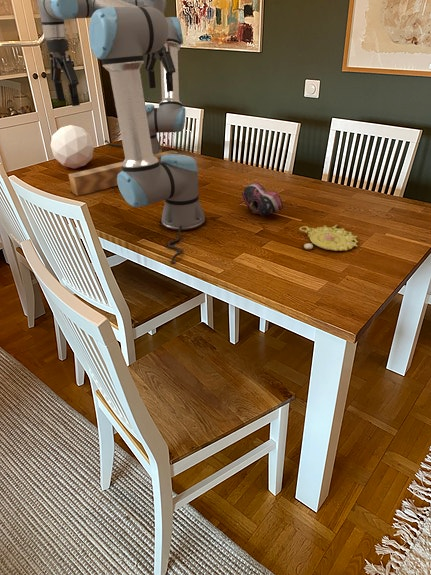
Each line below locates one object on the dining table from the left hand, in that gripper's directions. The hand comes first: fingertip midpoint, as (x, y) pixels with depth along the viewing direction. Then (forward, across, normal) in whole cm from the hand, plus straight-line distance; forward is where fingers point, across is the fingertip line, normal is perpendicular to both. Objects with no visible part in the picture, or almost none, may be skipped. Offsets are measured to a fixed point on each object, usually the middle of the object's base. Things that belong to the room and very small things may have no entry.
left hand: (161, 89), depth 188 cm
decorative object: (+35, -96, +2) cm, 102 cm away
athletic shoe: (+35, -64, +3) cm, 73 cm away
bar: (+35, 0, +21) cm, 40 cm away
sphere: (+35, +35, +30) cm, 58 cm away
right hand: (0, 0, +42) cm, 42 cm away
